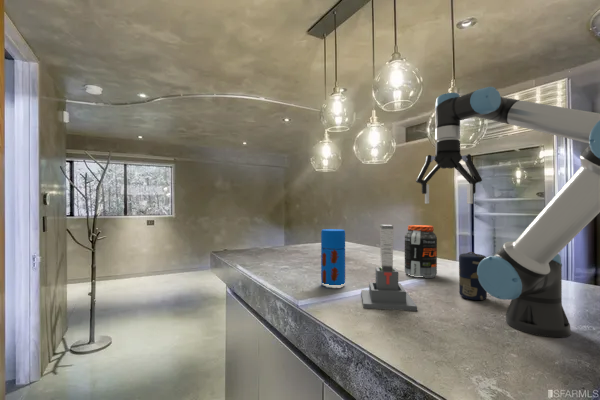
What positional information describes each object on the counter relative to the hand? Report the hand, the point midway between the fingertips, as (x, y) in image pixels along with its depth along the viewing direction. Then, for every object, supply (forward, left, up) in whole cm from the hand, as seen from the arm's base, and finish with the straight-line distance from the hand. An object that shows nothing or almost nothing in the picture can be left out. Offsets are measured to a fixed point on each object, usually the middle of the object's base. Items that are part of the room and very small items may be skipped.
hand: (448, 203), depth 103 cm
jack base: (+10, +19, -37) cm, 43 cm away
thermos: (+30, +40, -37) cm, 62 cm away
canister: (+20, -15, -37) cm, 45 cm away
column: (+10, +19, -30) cm, 37 cm away
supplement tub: (+58, -4, -37) cm, 69 cm away
